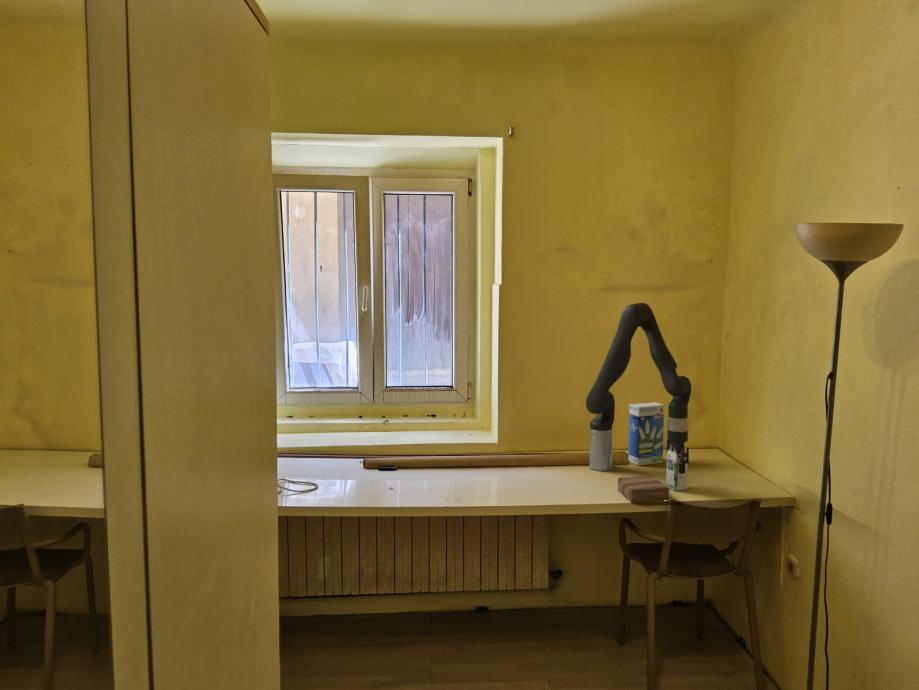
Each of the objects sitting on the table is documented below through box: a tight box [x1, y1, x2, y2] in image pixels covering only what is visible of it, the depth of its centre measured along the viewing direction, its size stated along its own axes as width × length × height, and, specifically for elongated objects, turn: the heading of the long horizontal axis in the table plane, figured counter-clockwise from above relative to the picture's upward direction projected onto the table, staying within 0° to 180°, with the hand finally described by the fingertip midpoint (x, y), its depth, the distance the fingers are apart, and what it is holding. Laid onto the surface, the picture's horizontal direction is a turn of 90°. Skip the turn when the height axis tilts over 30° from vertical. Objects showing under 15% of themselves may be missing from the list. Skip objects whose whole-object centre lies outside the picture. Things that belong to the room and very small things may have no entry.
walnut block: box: [617, 475, 670, 504], centre depth 241 cm, size 14×14×5 cm
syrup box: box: [665, 450, 689, 492], centre depth 248 cm, size 6×6×14 cm
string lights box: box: [628, 401, 665, 466], centre depth 283 cm, size 13×8×26 cm, turn 109°
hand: (677, 469), depth 248 cm, fingers open, 8 cm apart
